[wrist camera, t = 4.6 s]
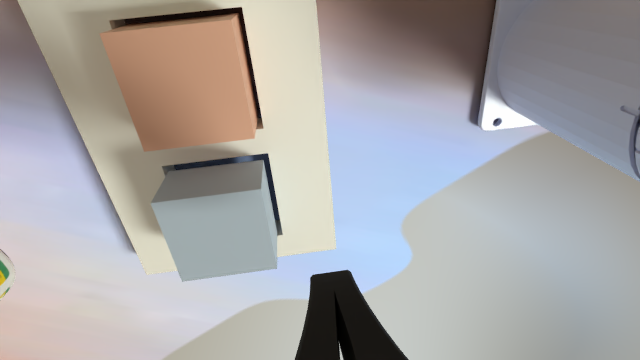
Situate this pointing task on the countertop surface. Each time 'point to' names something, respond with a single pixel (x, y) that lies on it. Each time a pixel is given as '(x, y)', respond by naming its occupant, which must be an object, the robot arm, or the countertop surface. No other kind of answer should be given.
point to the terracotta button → (184, 80)
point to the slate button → (218, 220)
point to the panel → (152, 166)
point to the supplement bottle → (6, 274)
